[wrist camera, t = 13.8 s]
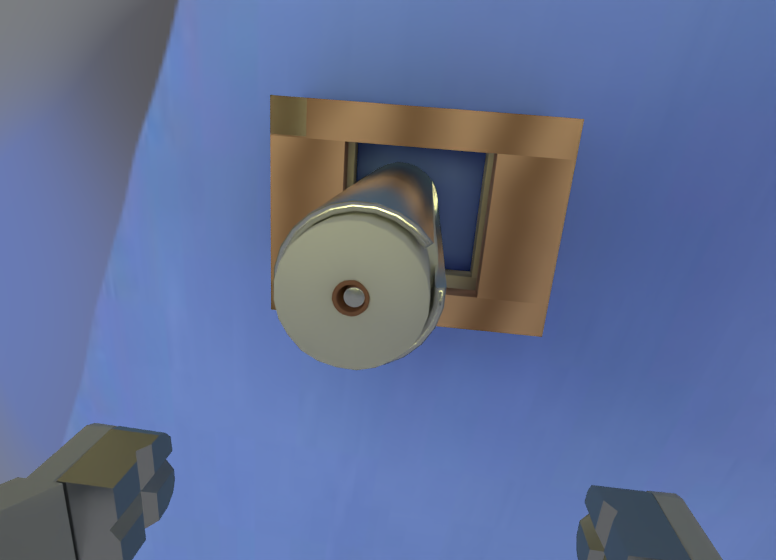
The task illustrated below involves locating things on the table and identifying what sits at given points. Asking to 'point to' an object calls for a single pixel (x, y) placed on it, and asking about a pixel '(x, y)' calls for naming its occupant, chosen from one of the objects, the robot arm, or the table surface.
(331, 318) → the silver metal cylinder
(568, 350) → the table surface
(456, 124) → the frame
